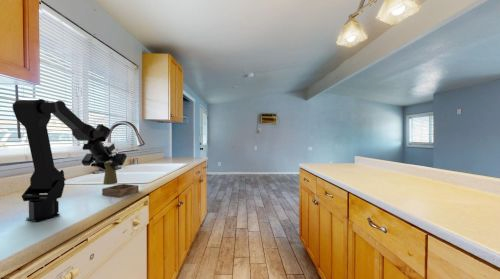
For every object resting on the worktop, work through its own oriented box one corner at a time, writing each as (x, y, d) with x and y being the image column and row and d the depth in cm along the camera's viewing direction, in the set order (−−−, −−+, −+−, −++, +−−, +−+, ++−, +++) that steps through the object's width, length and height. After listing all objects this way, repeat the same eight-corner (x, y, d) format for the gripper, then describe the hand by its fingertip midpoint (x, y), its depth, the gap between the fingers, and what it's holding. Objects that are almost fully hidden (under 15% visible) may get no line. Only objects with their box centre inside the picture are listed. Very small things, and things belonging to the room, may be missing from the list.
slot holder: (118, 197, 97) (118, 190, 97) (102, 194, 101) (102, 188, 101) (138, 191, 107) (138, 185, 107) (123, 189, 111) (123, 183, 111)
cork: (120, 182, 113) (120, 160, 113) (111, 184, 107) (111, 162, 107) (109, 181, 114) (109, 160, 113) (100, 184, 108) (100, 162, 107)
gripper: (124, 136, 106) (136, 157, 117) (85, 136, 106) (100, 157, 117) (115, 154, 99) (128, 174, 110) (73, 154, 98) (90, 174, 109)
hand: (112, 169), depth 112 cm, fingers closed on cork, 5 cm apart
